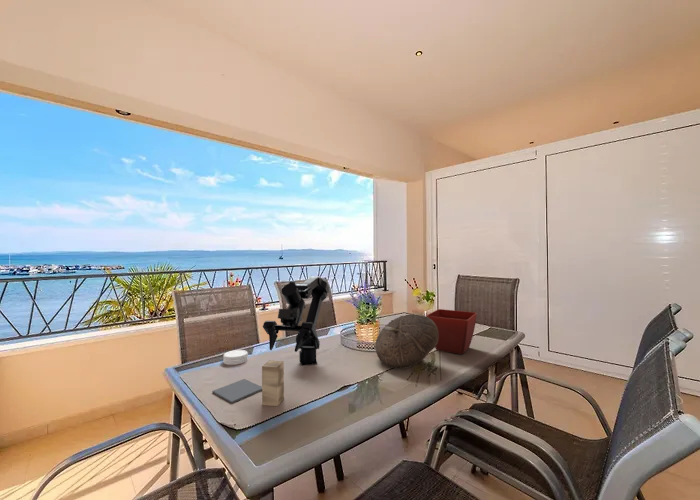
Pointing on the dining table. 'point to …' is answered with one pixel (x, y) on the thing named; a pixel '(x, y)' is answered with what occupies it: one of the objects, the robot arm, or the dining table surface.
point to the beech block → (272, 383)
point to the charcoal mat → (237, 390)
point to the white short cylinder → (235, 357)
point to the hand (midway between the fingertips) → (282, 350)
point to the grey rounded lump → (406, 341)
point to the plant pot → (454, 329)
